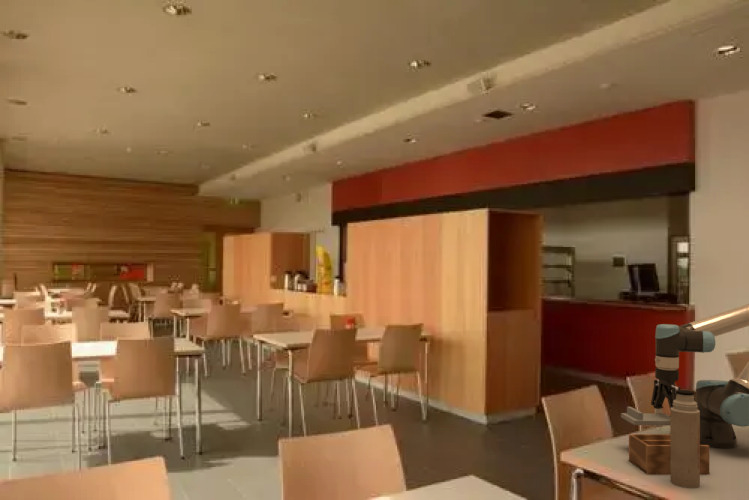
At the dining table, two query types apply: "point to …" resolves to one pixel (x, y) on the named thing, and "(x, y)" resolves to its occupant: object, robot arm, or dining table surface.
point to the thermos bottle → (685, 441)
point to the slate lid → (645, 417)
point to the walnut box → (658, 454)
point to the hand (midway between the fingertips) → (666, 431)
